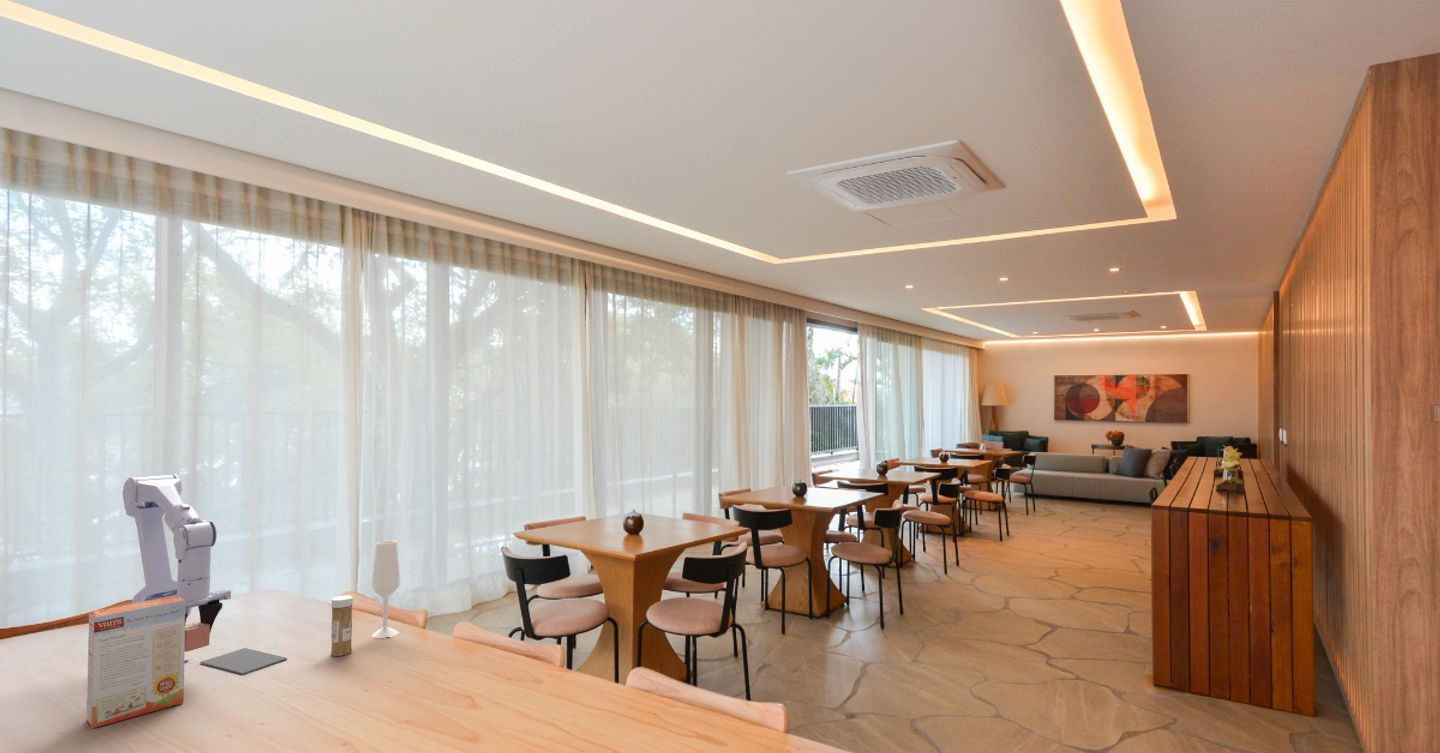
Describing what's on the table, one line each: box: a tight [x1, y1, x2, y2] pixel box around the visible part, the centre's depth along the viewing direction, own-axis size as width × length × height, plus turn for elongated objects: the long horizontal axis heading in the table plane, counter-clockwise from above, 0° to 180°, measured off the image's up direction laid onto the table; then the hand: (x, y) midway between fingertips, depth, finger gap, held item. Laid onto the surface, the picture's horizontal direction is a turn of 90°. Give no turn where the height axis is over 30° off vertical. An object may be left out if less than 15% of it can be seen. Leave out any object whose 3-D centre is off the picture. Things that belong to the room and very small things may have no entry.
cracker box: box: [86, 596, 186, 729], centre depth 134 cm, size 14×6×21 cm, turn 141°
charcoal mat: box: [199, 647, 288, 676], centre depth 160 cm, size 16×10×1 cm, turn 66°
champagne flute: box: [371, 539, 401, 639], centre depth 179 cm, size 7×7×24 cm
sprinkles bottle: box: [330, 595, 354, 657], centre depth 165 cm, size 5×5×14 cm
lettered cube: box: [184, 621, 211, 653], centre depth 150 cm, size 4×4×5 cm
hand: (192, 640), depth 150 cm, fingers closed on lettered cube, 4 cm apart
